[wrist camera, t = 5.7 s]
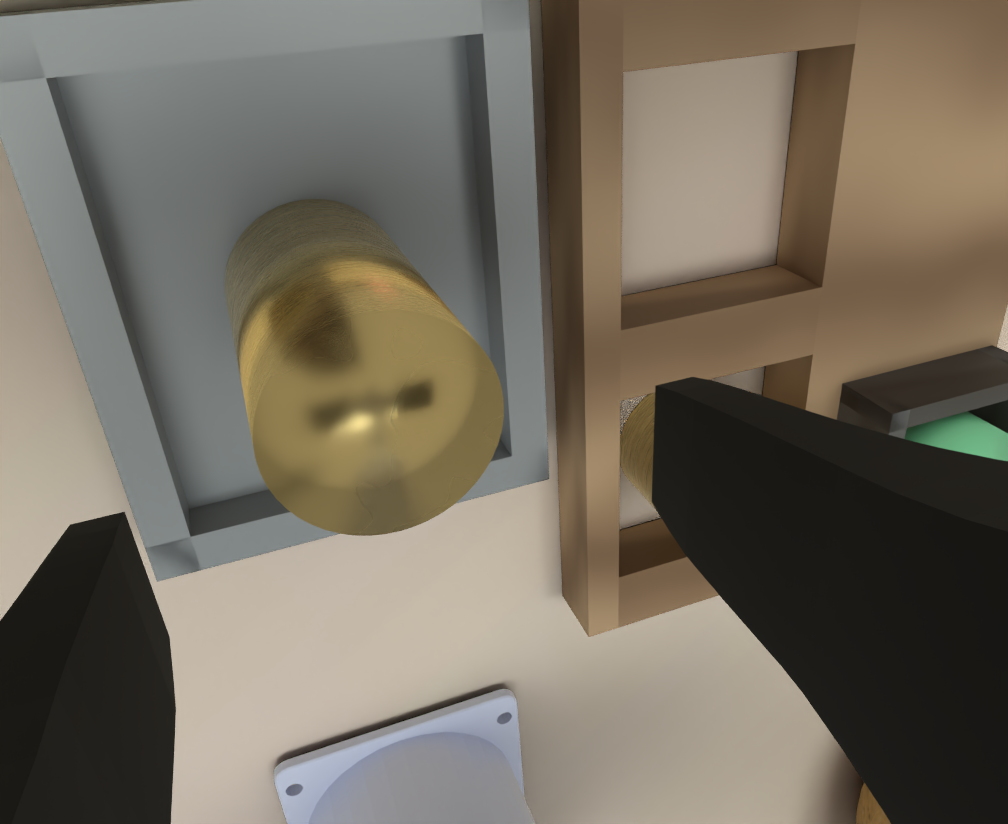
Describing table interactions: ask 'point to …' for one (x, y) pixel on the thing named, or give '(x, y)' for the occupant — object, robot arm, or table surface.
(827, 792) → the table surface
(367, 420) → the cylinder
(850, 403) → the pallet board
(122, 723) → the robot arm
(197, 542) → the tote
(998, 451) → the button
